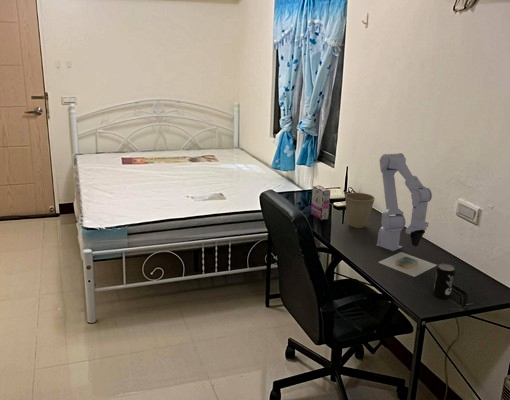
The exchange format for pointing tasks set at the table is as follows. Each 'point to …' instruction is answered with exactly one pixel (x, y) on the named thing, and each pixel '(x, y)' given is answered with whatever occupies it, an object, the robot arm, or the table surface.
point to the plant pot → (358, 208)
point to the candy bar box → (320, 202)
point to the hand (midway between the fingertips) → (414, 245)
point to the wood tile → (406, 262)
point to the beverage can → (444, 281)
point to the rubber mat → (412, 271)
